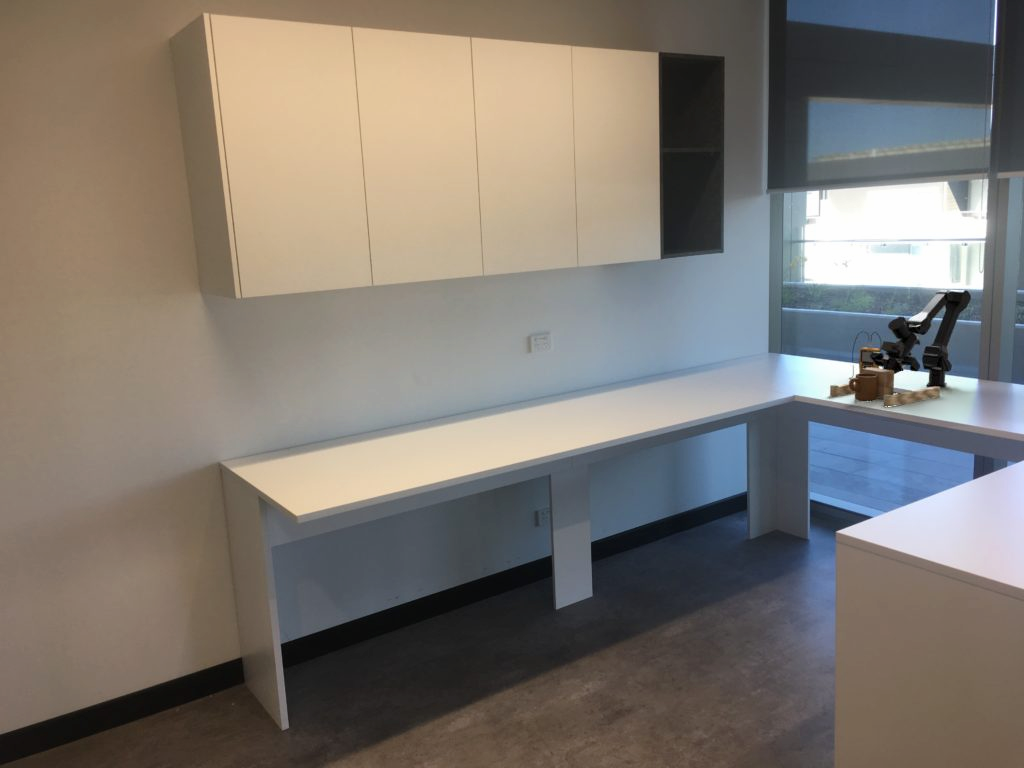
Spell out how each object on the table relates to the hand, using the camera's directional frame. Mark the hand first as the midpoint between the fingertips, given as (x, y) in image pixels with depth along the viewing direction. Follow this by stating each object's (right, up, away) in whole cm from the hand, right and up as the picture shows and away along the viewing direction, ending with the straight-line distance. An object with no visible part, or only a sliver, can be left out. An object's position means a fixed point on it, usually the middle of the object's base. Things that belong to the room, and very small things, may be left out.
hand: (882, 378), depth 311 cm
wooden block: (-2, -7, 0) cm, 7 cm away
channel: (+1, -7, +2) cm, 7 cm away
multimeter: (+6, -1, +31) cm, 32 cm away
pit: (+10, -5, +6) cm, 13 cm away
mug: (-10, -8, -4) cm, 13 cm away
